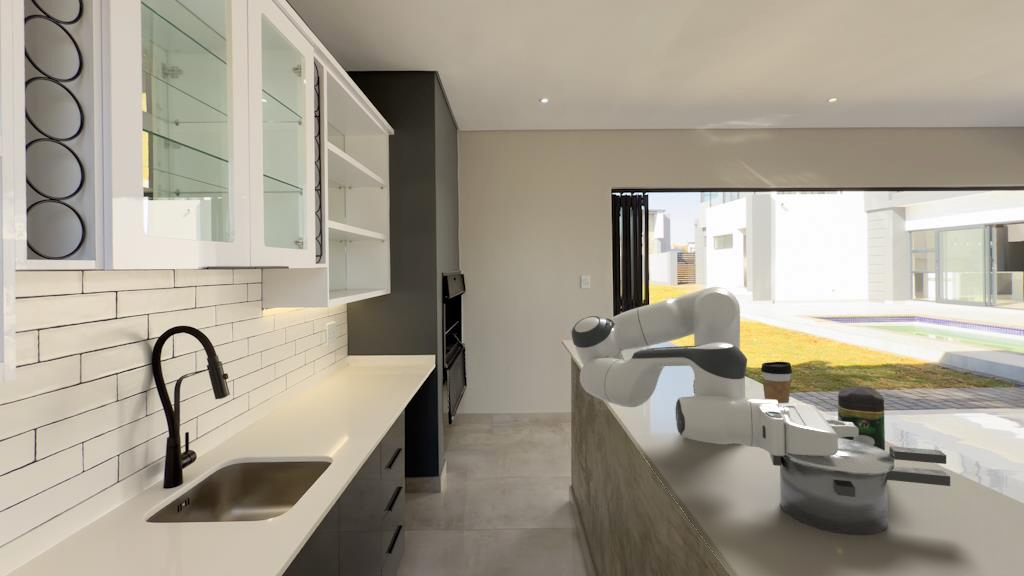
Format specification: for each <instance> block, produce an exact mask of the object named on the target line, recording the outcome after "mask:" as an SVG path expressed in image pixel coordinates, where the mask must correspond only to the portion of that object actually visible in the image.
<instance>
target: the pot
mask: <svg viewBox="0 0 1024 576" xmlns="http://www.w3.org/2000/svg"><path fill="white" fill-rule="evenodd" d="M769 457H770V460H771V462H772V465H773V466H776V467H777V466H778V467H779V473H780V474H779V478H780V479H779V480H780V483H779V484H780V485H779V487H780V488H779V489H780V490H779V492H780V493H779V494H780V497H779V498H780V506H781V509H782V510H783V511H784V512H785V513H786V514H787V515H789V516H790V517H791V518H793V519H794V520H797V521H799V522H801V523H803V524H806V525H808V526H811V527H813V528H816V529H820V530H823V531H828V532H833V533H837V534H845V535H853V536H854V535H857V536H860V535H861V536H865V535H866V536H867V535H874V534H878V533H880V532H883V531H885V530H886V529H887V527H888V524H889V522H888V521H889V519H888V514H889V513H888V481H894V482H895V481H896V482H902V483H903V482H906V483H914V484H915V483H916V484H925V485H926V484H927V485H934V486H944V487H951V476H950V475H949V474H948V473H947V472H946V471H944V470H940V469H939V470H937V469H929V468H917V467H908V466H907V467H906V466H896V465H894V468H893V470H891V471H889V472H887V473H882V474H876V475H852V474H842V473H834V472H828V471H823V470H819V469H815V468H811V467H807V466H804V465H801V464H799V463H796V462H794V461H792V460H790V459H788V458H786V457H785V456H775V455H772V454H770V453H769ZM884 529H885V530H884Z"/></svg>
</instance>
